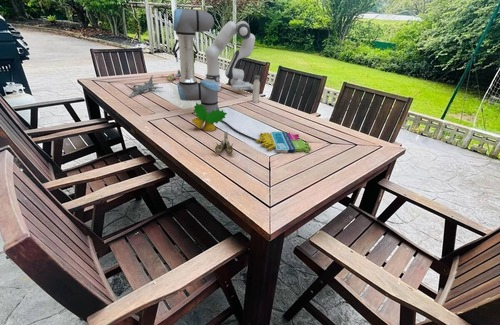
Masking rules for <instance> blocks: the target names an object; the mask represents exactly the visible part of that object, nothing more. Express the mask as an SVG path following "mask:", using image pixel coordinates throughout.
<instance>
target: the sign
mask: <svg viewBox="0 0 500 325" xmlns="http://www.w3.org/2000/svg"><path fill="white" fill-rule="evenodd" d="M299 136H300V135H299V134H298V133H296V134H294V133H291V132H287V131H270V132H264V133H263V132H260V133H259V139H258V138H256V139H257V141H255V142H256V143H257V144H261V148H263V147H264V148H265V149H267V151H268V152H271V151H272V150H273V149H275V152H276V153H283V154H285V153H287V154H288V153H290V154H293V153H296V152H298V153H301V152H305V153H310V151H311V150H312V149H311V148H312V146H309V142H304V141H303V139H302V138H299ZM260 142H263V143H260Z"/></svg>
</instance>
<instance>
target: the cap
mask: <svg viewBox="0 0 500 325" xmlns="http://www.w3.org/2000/svg"><path fill="white" fill-rule="evenodd" d="M253 79H254V80H255V79H259V80H260V79H261V76H260V75H254V78H253Z"/></svg>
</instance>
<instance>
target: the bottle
mask: <svg viewBox="0 0 500 325" xmlns="http://www.w3.org/2000/svg"><path fill="white" fill-rule="evenodd" d="M252 84H253V89H252V98H251V102H252V103H259V102H260V90H261V89H260V88H261V82H260V79H254V81H253V82H252Z"/></svg>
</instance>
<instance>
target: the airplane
mask: <svg viewBox="0 0 500 325" xmlns="http://www.w3.org/2000/svg"><path fill="white" fill-rule="evenodd" d="M153 78H154V75H153V74H151V76H150V78H149V80H148V81H147V82H146V81H144V82H143V85H142V84H134V83H129V84H128V85H130V86H132V87H131V89H133V91H132V92H131V93H130V94H129V95H128V96H127V98H129V97H130V98H131V97H135V96H137V95H139V94H141V93H148V92H150V91H151V90H152V92H154V91H156V90H157V89H163V88H164V87H162V86H157V85H158V83H154V82H153ZM155 85H156V86H155Z"/></svg>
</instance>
